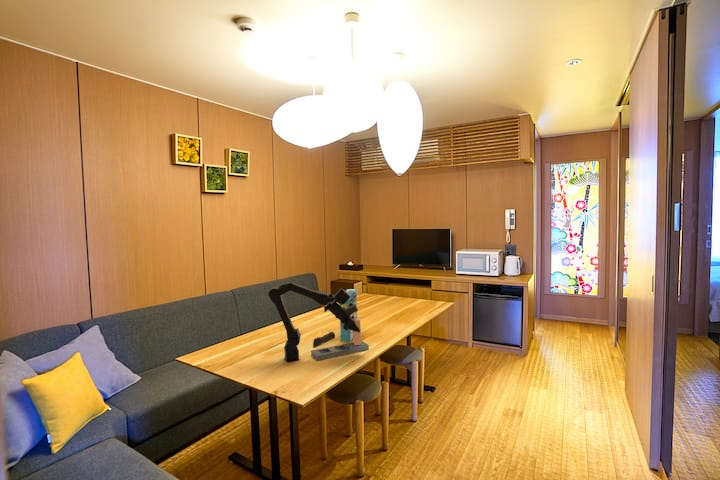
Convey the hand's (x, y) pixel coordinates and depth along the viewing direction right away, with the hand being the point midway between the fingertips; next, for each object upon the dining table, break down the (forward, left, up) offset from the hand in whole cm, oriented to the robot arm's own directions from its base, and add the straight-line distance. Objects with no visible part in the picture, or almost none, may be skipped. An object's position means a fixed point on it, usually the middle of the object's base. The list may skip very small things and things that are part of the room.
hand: (359, 330), depth 198 cm
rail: (-7, +10, -13) cm, 18 cm away
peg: (-1, +1, -7) cm, 7 cm away
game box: (+9, +32, -14) cm, 35 cm away
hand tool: (-9, +29, -14) cm, 34 cm away
